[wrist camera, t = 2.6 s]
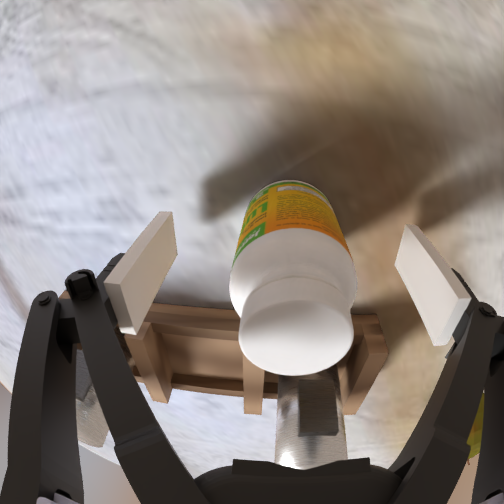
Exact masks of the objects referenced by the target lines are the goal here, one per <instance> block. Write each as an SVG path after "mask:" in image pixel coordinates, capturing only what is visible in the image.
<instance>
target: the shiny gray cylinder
mask: <svg viewBox="0 0 504 504" xmlns="http://www.w3.org/2000/svg"><path fill="white" fill-rule="evenodd" d="M338 460H348V457H347V445H346V434H345V424H344V414H343V405H342V397H341V389H340V381H339V374H338V366H337V363H335V364H334V365H332V366H331V367H329V368H327V369H324V370H322V371H319V372H316V373H312V374H306V375H293V376H291V375H280V374H278V398H277V424H276V445H275V463H276V464H280V465H284V466H288V467H292V468H297V469H302V470H305V469H310V468H314V467H317V466H321V465H325V464H328V463H331V462H335V461H338Z"/></svg>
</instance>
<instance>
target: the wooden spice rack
mask: <svg viewBox="0 0 504 504" xmlns="http://www.w3.org/2000/svg"><path fill="white" fill-rule="evenodd" d="M69 298H70V296H69V293H68V291H64V292H63V293H62V294H61V296H60V297H59V300H60V299H69ZM351 319H352V324H353V329H354V338H353V342H352V345H351V347H350V349H349V350H348V352H347V353H346V355H345V356H344V357H343V358H342V359H341V360H340V361H338V362H337V366H338V374H339V381H340V389H341V397H342V405H343V414H344V415H352V414H356V412H357V410H358V409H359V407H360V405H361V404H362V402H363V400H364V399H365V397H366V395H367V393H368V392H369V390H370V388H371V386H372V385H373V383H374V381H375V379H376V377H377V375H378V373H379V372H380V370H381V368H382V366H383V364H384V362H385V360H386V358H387V356H388V354H389V352H388V349H387V346H386V342H385V339H384V336H383V333H382V330H381V327H380V323H379V320H378V317H377V315H351ZM240 320H241V318H240V316H239V315H238V313H237V312H236V310H228V309H214V308H202V307H191V306H180V305H170V304H160V303H152V304H151V306H150V308H149V310H148V312H147V314H146V316H145V318H144V320H143V322H142V324H141V327H140V329H139V331H138V333H137V335H133V334H127V333H126V334H125V336H124V338H125V340H126V343H127V345H128V348H129V350H130V352H131V355H132V357H133V359H134V362H135V365H134V368H133V370H132V372H133V375H134V377H135V379H136V381H137V382H141V383H144V384H145V386H146V388H147V390H148V392H149V394H150V396H151V398H152V400H153V401H157V402H162V403H167V404H168V402H169V398H170V395H171V392H172V388H174V389H180V390H186V391H193V392H201V393H209V394H217V395H227V396H238V397H244V414H257V415H261V413H262V400H263V398H267V399H277V398H278V374H275V373H272V372H269V371H266V370H263V369H261V368H259V367H258V366H256V365H255V364H253V363H252V362H251V361H250V360H248V359H247V357H246V356H245V355H244V353H243V352H242V350H241V348H240V344H239V327H240ZM116 326H119V325H118V323H117V325H116ZM77 349H78V350H82V346H81V343H77Z"/></svg>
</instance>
